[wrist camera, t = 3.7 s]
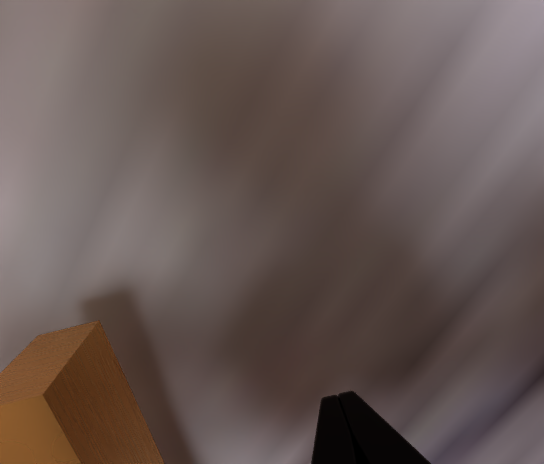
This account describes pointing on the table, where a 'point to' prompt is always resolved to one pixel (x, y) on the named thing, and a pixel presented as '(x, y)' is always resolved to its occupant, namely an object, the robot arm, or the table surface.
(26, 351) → the orange bar
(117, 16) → the table surface
